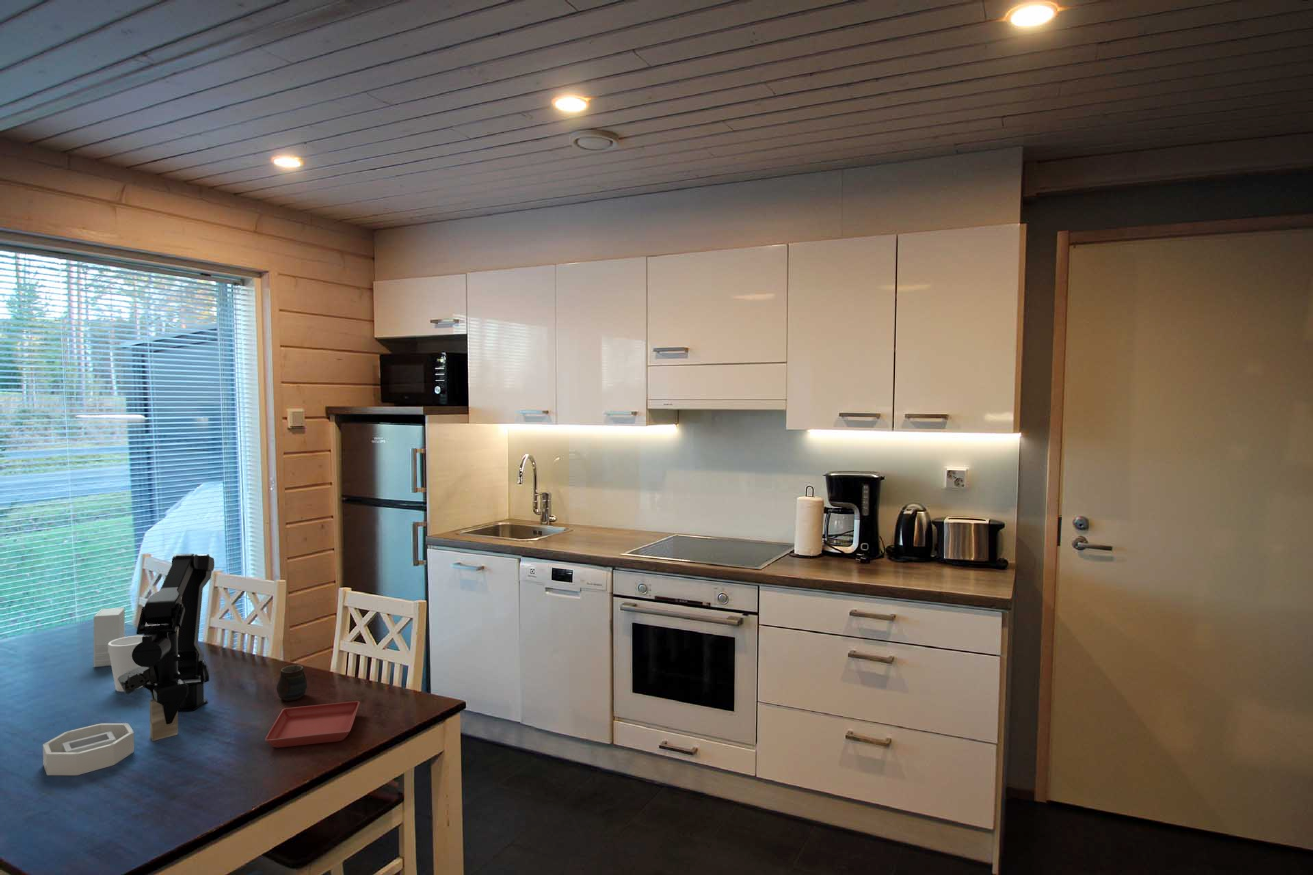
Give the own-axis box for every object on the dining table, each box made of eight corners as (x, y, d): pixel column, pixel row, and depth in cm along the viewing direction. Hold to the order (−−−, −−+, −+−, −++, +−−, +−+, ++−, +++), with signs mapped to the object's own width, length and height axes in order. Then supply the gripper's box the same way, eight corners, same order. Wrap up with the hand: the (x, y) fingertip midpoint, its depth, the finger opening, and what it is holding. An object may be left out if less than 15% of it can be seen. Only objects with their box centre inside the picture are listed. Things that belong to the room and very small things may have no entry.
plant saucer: (264, 753, 162) (263, 739, 162) (282, 720, 180) (282, 707, 180) (350, 744, 167) (350, 730, 167) (360, 713, 184) (360, 700, 184)
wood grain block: (177, 734, 171) (177, 696, 170) (152, 740, 167) (152, 702, 167) (175, 730, 172) (174, 693, 172) (150, 737, 169) (149, 699, 168)
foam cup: (159, 681, 203) (158, 636, 203) (132, 694, 194) (131, 646, 194) (128, 680, 204) (127, 634, 204) (99, 692, 195) (99, 645, 195)
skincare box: (100, 658, 221) (99, 608, 221) (126, 656, 224) (126, 606, 223) (92, 667, 214) (91, 615, 213) (119, 664, 216) (119, 613, 216)
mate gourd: (299, 690, 198) (299, 654, 198) (312, 697, 194) (312, 660, 193) (272, 697, 193) (272, 660, 192) (284, 705, 188) (285, 667, 188)
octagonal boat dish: (138, 758, 159) (138, 737, 159) (49, 782, 148) (49, 761, 148) (124, 736, 169) (123, 717, 169) (40, 757, 158) (40, 737, 158)
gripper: (112, 650, 170) (113, 715, 170) (129, 671, 157) (130, 741, 157) (168, 640, 178) (169, 702, 178) (189, 658, 165) (189, 726, 165)
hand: (164, 717), depth 170 cm, fingers open, 9 cm apart
